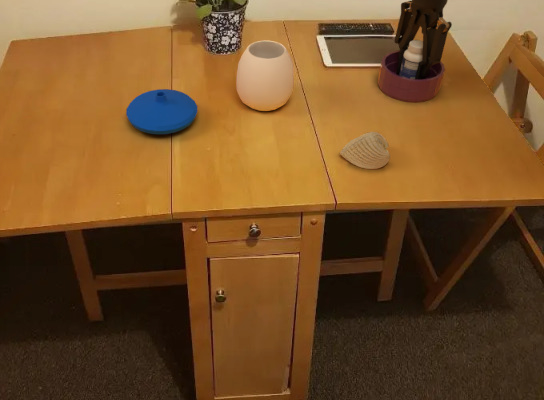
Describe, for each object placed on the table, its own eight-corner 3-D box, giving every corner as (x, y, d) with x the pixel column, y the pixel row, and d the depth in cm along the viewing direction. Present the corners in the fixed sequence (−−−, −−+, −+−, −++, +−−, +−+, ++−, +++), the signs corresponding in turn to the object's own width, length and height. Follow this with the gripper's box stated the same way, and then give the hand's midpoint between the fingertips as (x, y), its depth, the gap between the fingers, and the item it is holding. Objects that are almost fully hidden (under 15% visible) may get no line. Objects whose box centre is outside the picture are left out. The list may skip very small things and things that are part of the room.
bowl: (451, 93, 139) (458, 71, 134) (404, 109, 134) (410, 87, 130) (410, 66, 148) (415, 44, 144) (365, 80, 143) (369, 58, 139)
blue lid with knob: (114, 119, 131) (109, 92, 126) (169, 93, 139) (167, 67, 134) (155, 151, 122) (152, 124, 118) (212, 122, 130) (211, 96, 125)
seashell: (399, 164, 116) (369, 152, 112) (369, 180, 122) (340, 169, 118) (395, 129, 119) (366, 117, 115) (366, 146, 126) (338, 135, 122)
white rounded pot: (254, 123, 130) (256, 70, 120) (225, 95, 138) (225, 43, 129) (303, 107, 134) (308, 55, 125) (272, 81, 143) (275, 30, 134)
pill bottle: (403, 72, 142) (411, 36, 136) (424, 79, 140) (434, 42, 133) (394, 82, 139) (402, 45, 132) (415, 89, 137) (425, 51, 130)
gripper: (390, -27, 128) (372, 66, 144) (451, 4, 116) (424, 102, 132) (416, -34, 131) (396, 59, 147) (478, -4, 119) (449, 94, 135)
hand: (409, 79), depth 139 cm, fingers closed on pill bottle, 5 cm apart
